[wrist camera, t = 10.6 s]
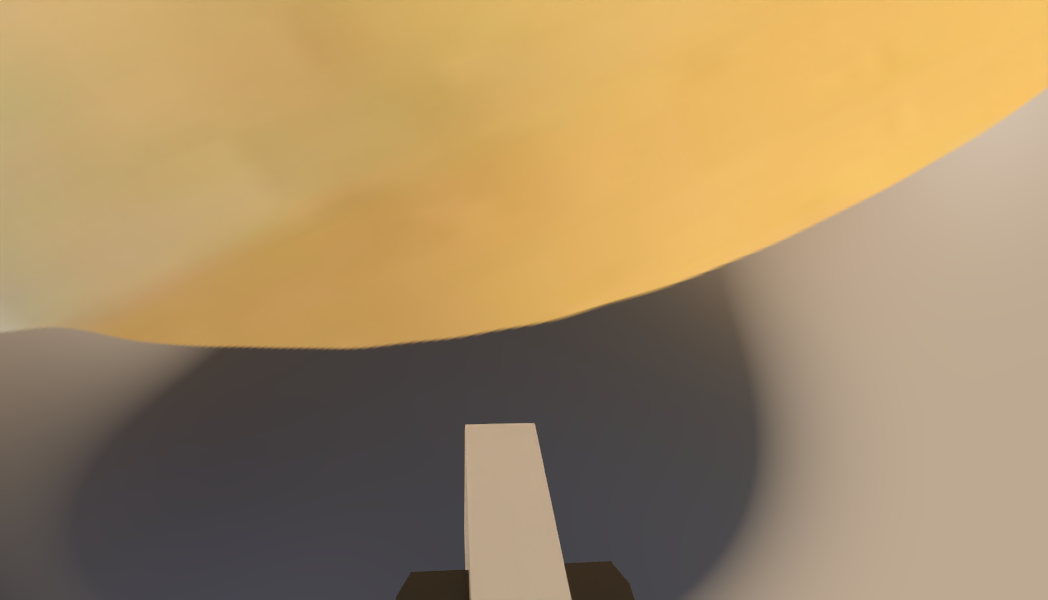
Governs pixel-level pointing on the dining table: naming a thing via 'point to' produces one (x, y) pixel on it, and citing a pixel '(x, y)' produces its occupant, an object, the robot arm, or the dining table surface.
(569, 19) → the dining table surface
